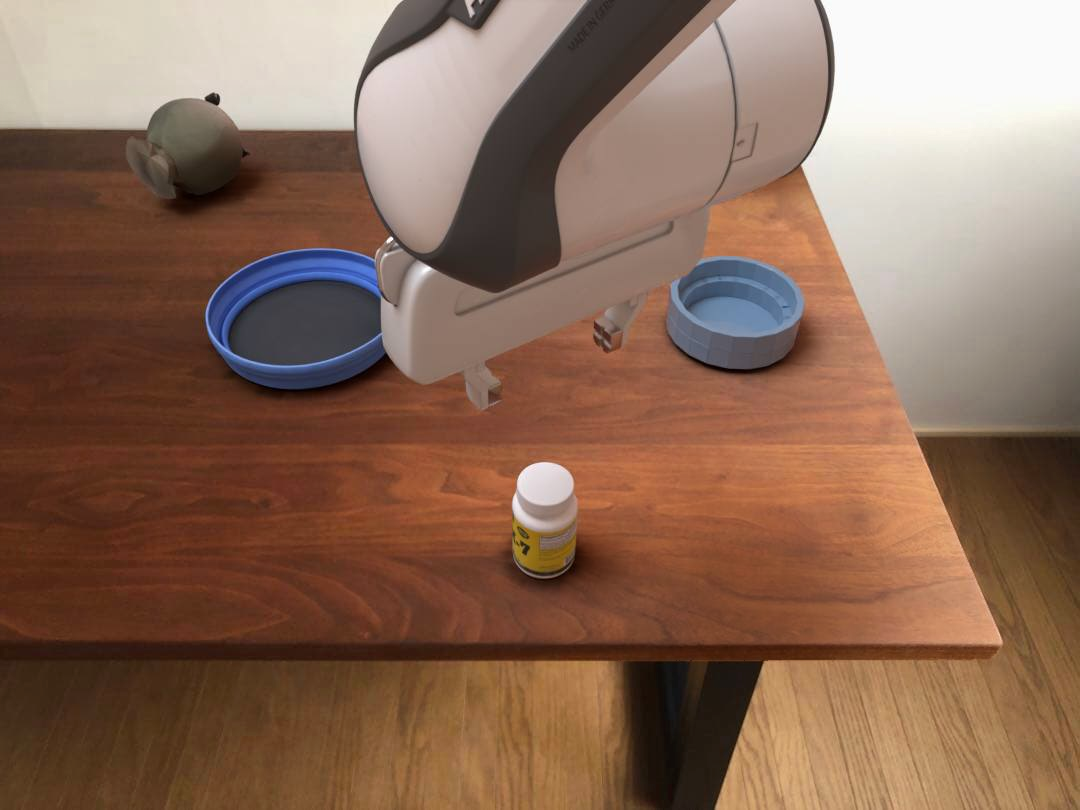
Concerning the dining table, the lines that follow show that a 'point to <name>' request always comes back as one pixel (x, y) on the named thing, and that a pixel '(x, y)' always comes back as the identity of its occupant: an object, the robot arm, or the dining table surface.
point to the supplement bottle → (544, 520)
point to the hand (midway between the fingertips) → (549, 371)
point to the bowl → (299, 318)
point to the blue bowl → (734, 312)
